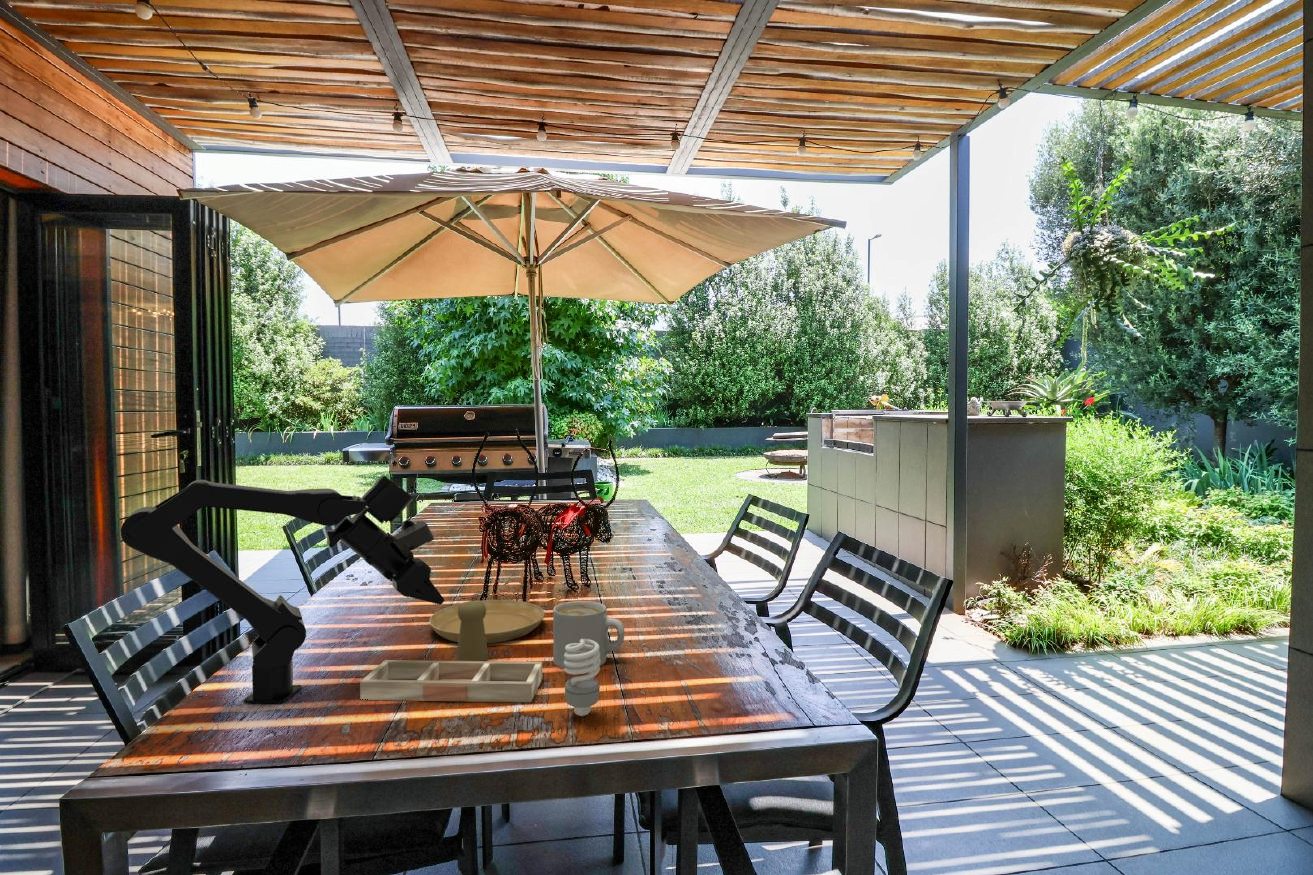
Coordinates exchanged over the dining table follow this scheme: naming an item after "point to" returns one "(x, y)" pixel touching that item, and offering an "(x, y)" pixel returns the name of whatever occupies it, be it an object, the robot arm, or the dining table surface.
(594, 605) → the coffee mug
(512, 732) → the dining table surface
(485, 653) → the olive chess pawn
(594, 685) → the light bulb
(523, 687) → the rack
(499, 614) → the plant saucer
